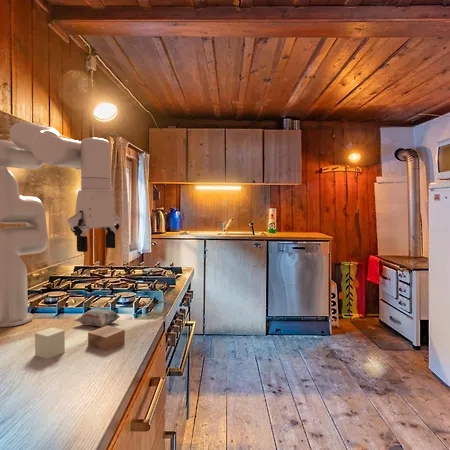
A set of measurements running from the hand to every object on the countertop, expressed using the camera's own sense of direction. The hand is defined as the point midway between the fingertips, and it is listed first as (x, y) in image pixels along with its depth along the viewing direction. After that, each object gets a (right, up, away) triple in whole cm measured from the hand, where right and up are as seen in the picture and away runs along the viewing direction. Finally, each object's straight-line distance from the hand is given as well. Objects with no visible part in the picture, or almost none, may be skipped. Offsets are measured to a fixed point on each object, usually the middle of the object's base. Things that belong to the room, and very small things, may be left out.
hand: (96, 249), depth 93 cm
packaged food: (-8, -27, +22) cm, 35 cm away
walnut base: (+1, -28, +6) cm, 28 cm away
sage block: (-12, -28, -1) cm, 30 cm away
